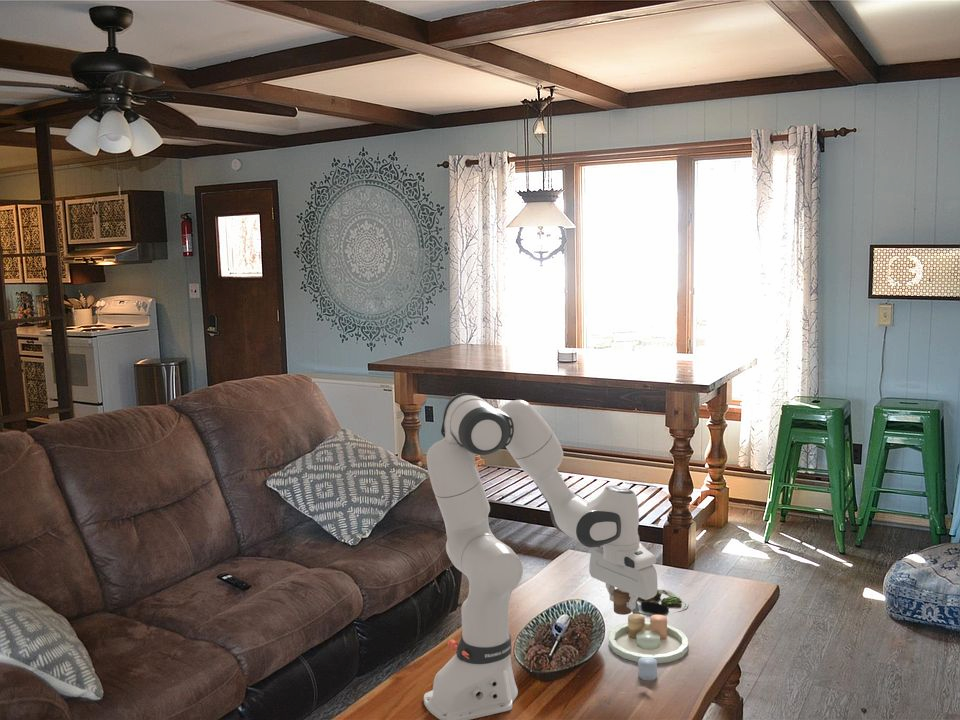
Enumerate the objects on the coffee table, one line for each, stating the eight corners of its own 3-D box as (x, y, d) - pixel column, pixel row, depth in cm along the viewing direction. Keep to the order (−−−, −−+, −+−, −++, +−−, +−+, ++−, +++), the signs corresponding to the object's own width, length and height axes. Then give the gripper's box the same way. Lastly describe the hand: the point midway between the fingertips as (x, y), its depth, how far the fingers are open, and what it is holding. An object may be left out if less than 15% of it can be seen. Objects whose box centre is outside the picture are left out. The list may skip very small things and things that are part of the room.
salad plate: (609, 597, 254) (608, 582, 253) (662, 588, 259) (662, 574, 258) (639, 624, 235) (639, 608, 235) (696, 614, 241) (696, 598, 240)
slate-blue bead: (647, 687, 202) (646, 667, 201) (634, 679, 205) (634, 660, 205) (660, 681, 204) (660, 662, 203) (648, 674, 208) (648, 655, 207)
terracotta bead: (658, 641, 222) (658, 623, 221) (646, 635, 225) (646, 617, 225) (670, 637, 224) (670, 619, 223) (659, 630, 228) (659, 613, 227)
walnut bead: (622, 616, 206) (622, 596, 206) (610, 610, 210) (609, 591, 209) (635, 611, 209) (635, 591, 208) (622, 605, 212) (622, 586, 212)
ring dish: (645, 675, 207) (645, 661, 206) (593, 644, 224) (593, 631, 223) (704, 653, 217) (704, 640, 216) (650, 624, 234) (650, 612, 234)
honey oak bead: (635, 640, 223) (635, 622, 222) (624, 634, 226) (624, 616, 226) (648, 636, 225) (648, 618, 224) (637, 630, 229) (637, 612, 228)
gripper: (582, 542, 214) (584, 594, 216) (642, 565, 197) (643, 621, 199) (600, 536, 217) (602, 588, 219) (661, 558, 201) (662, 614, 203)
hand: (622, 604), depth 209 cm, fingers closed on walnut bead, 4 cm apart
